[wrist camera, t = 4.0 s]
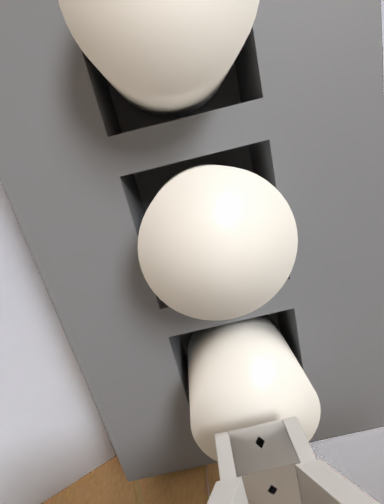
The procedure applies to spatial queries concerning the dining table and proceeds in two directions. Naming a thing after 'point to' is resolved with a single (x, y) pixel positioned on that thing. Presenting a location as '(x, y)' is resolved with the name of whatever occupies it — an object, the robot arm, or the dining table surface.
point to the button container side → (245, 381)
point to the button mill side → (162, 47)
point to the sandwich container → (140, 487)
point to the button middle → (217, 242)
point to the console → (190, 154)
